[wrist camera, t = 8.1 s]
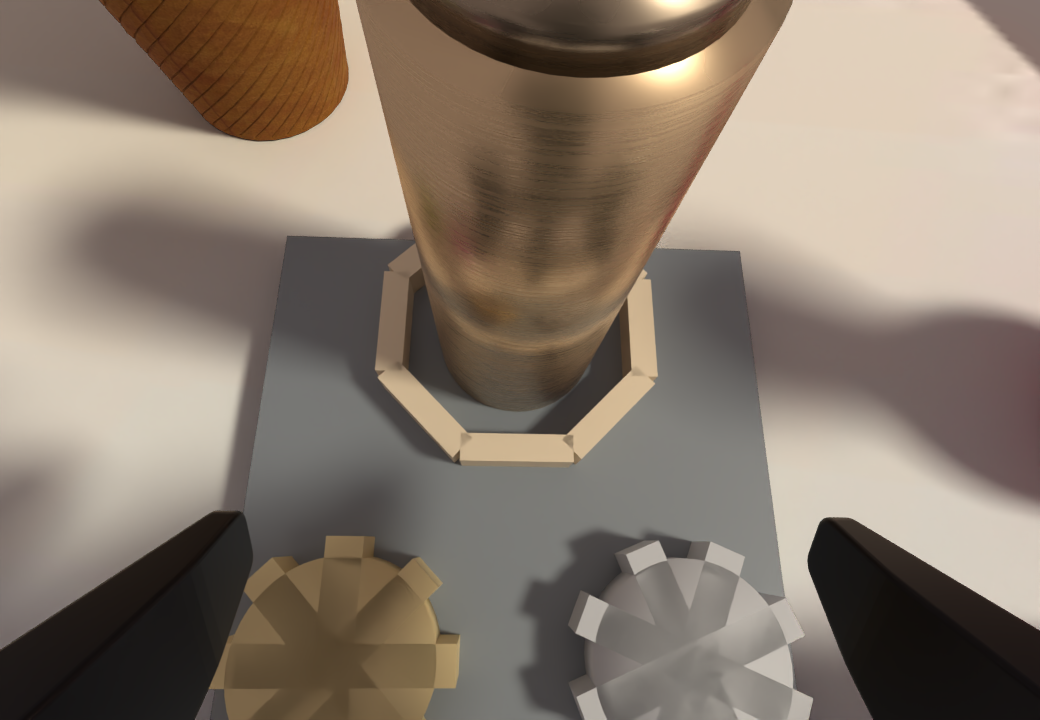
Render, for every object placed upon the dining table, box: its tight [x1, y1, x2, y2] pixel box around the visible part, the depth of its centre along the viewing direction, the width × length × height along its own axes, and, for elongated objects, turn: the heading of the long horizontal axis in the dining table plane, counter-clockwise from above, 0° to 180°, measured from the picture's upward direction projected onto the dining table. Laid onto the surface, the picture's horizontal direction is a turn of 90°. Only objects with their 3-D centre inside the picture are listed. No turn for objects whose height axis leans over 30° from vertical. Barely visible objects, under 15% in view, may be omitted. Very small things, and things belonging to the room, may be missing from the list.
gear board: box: [209, 236, 813, 720], centre depth 16 cm, size 23×16×3 cm
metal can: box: [356, 0, 793, 412], centre depth 12 cm, size 5×5×14 cm
